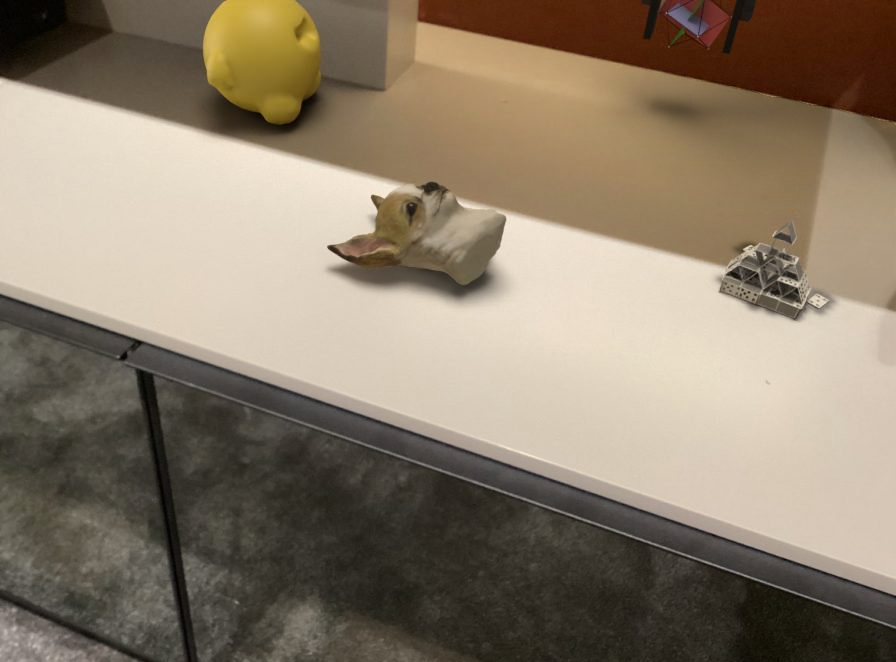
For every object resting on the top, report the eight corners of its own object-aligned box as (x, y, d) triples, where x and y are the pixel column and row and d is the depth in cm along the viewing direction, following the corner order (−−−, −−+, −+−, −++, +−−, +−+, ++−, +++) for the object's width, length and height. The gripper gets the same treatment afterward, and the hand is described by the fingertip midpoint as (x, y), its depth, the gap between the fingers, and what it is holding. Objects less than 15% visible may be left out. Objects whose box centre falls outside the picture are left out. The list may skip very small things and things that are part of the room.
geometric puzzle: (751, 25, 103) (723, -47, 100) (728, 48, 99) (698, -27, 96) (690, 50, 108) (662, -18, 106) (666, 72, 104) (636, 2, 101)
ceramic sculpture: (484, 233, 77) (318, 194, 82) (480, 318, 83) (325, 277, 88) (527, 169, 84) (372, 137, 89) (520, 252, 90) (375, 218, 95)
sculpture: (313, 134, 100) (259, 10, 92) (215, 154, 106) (156, 39, 98) (359, 69, 110) (314, -48, 103) (267, 90, 116) (218, -19, 108)
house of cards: (841, 277, 89) (873, 207, 83) (814, 328, 83) (847, 257, 78) (745, 243, 92) (770, 174, 87) (714, 290, 87) (739, 219, 81)
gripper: (626, -203, 88) (586, 38, 104) (863, -176, 83) (782, 73, 99) (642, -221, 93) (601, 11, 109) (866, -196, 88) (789, 44, 104)
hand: (687, 40), depth 104 cm, fingers closed on geometric puzzle, 8 cm apart
